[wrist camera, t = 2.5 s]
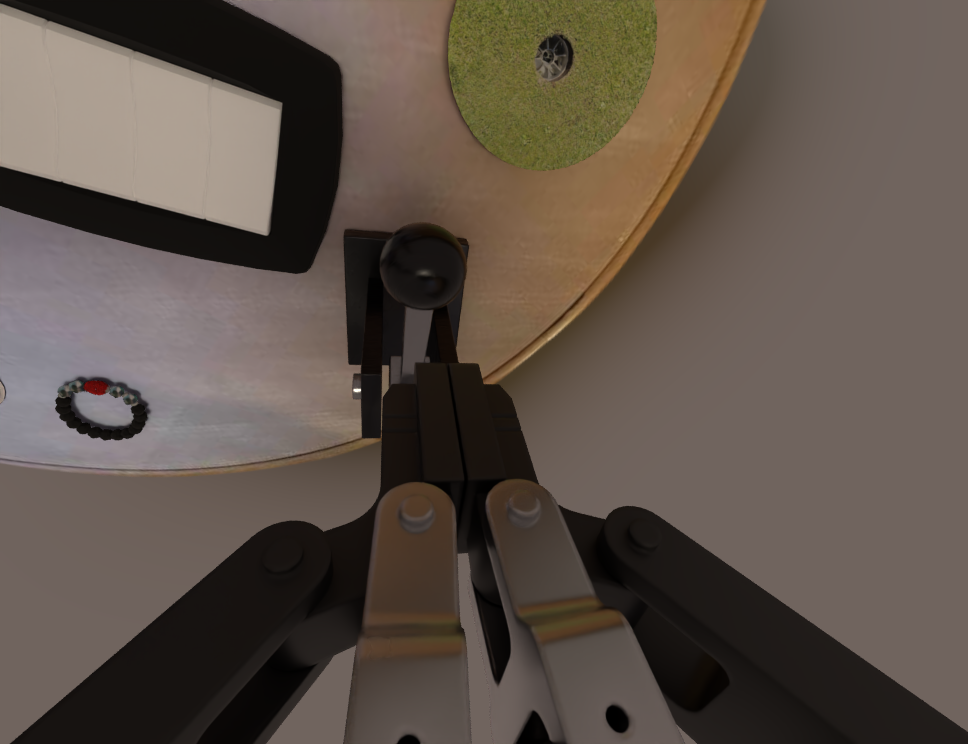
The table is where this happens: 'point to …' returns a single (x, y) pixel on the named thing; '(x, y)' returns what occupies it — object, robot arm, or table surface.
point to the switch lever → (420, 286)
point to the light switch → (170, 127)
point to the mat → (549, 74)
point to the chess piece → (2, 393)
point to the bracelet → (101, 388)
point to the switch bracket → (384, 323)
